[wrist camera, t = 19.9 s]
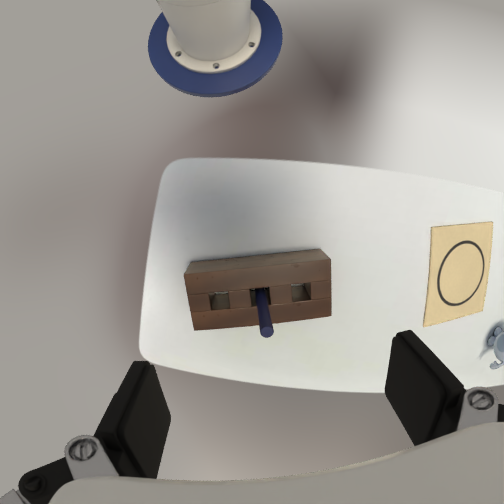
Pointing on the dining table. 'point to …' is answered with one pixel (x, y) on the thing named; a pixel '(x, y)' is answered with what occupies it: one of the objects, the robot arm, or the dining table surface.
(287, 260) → the pen stand
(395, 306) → the dining table surface
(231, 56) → the robot arm
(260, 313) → the pen
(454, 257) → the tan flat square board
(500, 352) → the toy figure
